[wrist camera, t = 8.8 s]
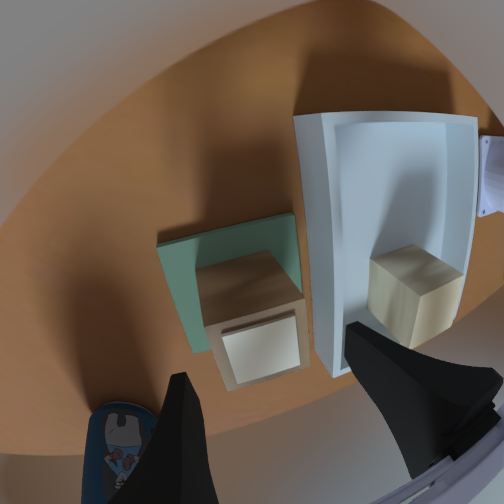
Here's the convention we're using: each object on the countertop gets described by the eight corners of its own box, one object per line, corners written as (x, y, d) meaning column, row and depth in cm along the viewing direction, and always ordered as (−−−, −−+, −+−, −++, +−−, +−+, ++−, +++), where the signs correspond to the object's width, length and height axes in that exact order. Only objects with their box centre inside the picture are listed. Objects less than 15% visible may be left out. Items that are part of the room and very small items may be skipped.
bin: (443, 114, 17) (477, 117, 14) (432, 299, 24) (455, 317, 21) (292, 116, 15) (320, 113, 12) (314, 348, 22) (332, 378, 19)
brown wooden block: (268, 249, 17) (307, 300, 12) (277, 309, 19) (311, 368, 14) (194, 268, 16) (204, 330, 11) (212, 327, 18) (228, 394, 13)
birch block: (413, 243, 20) (464, 274, 15) (408, 291, 22) (450, 326, 17) (369, 258, 19) (420, 296, 14) (366, 308, 21) (408, 350, 16)
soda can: (120, 442, 22) (122, 544, 11) (76, 404, 19) (60, 523, 8) (178, 429, 23) (195, 543, 12) (137, 388, 20) (139, 529, 9)
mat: (290, 211, 17) (294, 214, 17) (301, 318, 20) (304, 323, 20) (157, 244, 16) (156, 247, 15) (193, 348, 19) (193, 353, 19)
